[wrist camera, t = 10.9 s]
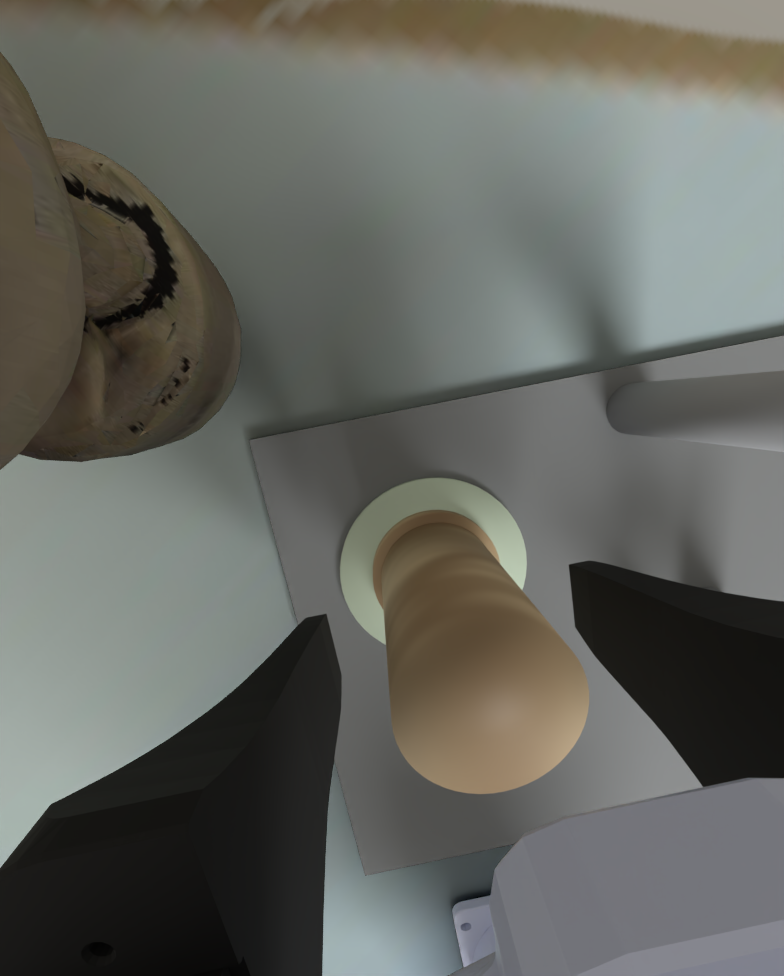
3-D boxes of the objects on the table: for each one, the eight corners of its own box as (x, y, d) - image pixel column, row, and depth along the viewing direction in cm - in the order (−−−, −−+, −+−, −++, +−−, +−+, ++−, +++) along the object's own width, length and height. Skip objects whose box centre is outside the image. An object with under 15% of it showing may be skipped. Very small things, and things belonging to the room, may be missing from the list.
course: (927, 746, 19) (1318, 986, 11) (365, 865, 18) (362, 1200, 11) (980, 296, 14) (1677, 173, 7) (252, 439, 14) (109, 481, 6)
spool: (486, 498, 14) (594, 583, 7) (502, 612, 15) (611, 779, 8) (361, 523, 14) (354, 632, 7) (385, 636, 15) (399, 825, 8)
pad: (533, 630, 16) (536, 635, 16) (361, 666, 16) (361, 671, 15) (511, 460, 14) (514, 461, 14) (321, 498, 14) (320, 499, 14)
